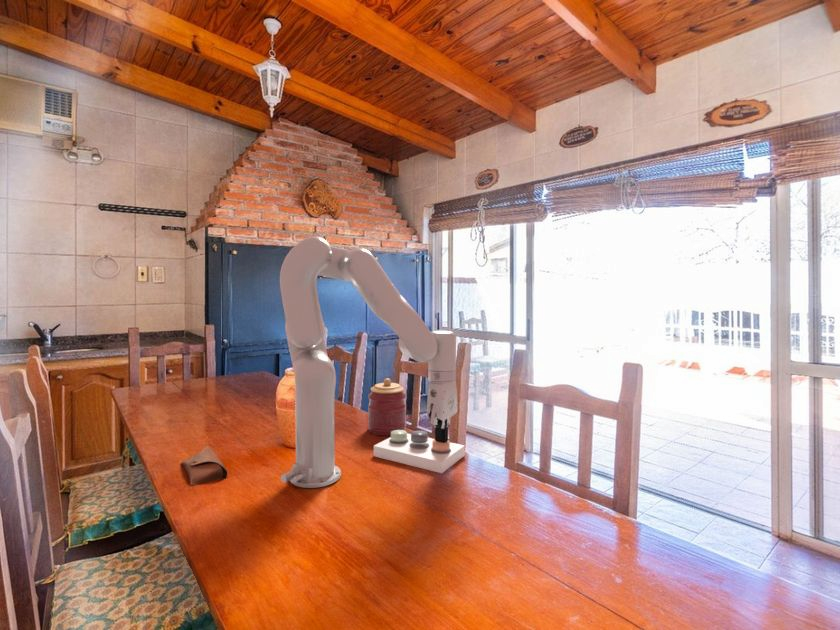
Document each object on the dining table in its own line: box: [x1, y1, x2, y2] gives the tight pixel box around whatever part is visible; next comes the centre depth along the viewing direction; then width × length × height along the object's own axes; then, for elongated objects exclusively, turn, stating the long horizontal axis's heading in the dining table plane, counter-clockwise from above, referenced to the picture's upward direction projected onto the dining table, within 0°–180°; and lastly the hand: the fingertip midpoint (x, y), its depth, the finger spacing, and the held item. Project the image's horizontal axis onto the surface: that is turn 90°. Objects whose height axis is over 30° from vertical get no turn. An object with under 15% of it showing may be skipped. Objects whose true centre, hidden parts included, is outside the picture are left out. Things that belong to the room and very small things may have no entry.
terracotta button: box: [432, 438, 451, 452], centre depth 120 cm, size 5×5×2 cm
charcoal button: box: [410, 430, 429, 443], centre depth 124 cm, size 5×5×2 cm
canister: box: [367, 377, 407, 437], centre depth 146 cm, size 13×13×18 cm
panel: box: [373, 433, 466, 474], centre depth 124 cm, size 14×22×3 cm, turn 59°
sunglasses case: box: [180, 445, 228, 487], centre depth 114 cm, size 18×7×7 cm, turn 38°
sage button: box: [390, 430, 408, 442], centre depth 127 cm, size 5×5×2 cm
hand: (441, 441), depth 120 cm, fingers closed
